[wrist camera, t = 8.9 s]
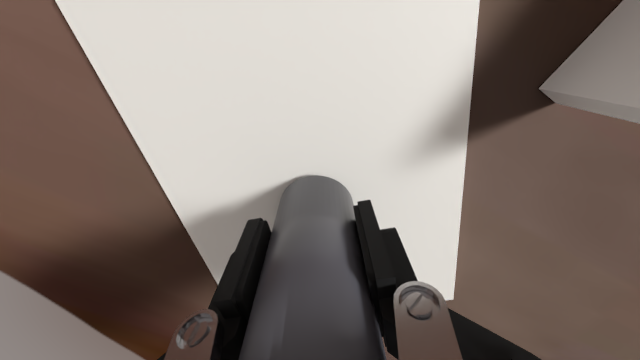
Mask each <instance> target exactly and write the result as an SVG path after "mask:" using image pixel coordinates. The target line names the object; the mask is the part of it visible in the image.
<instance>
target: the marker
mask: <svg viewBox="0 0 640 360" xmlns="http://www.w3.org/2000/svg"><path fill="white" fill-rule="evenodd" d="M353 206H354V204H353V200H352V197H351V194H350V193H349V191H348V190H347V189H346V187H345V186H344V185H342V184H341V183H340V182H338V181H336V180H335V179H332V178H329V177H326V176H319V175H313V176H307V177H303V178H300V179H298V180H296V181H294V182H293V183H291V184H290V185H289V186H288V187H287V188H286V189H285V190H284V192H283V194H282V196H281V198H280V202H279V206H278V210H277V214H276V218H275V221H274V225H273V229H272V233H271V237H270V241H269V244H268V248H267V252H266V256H265V260H264V264H263V267H262V271H261V275H260V279H259V283H258V287H257V290H256V294H255V298H254V302H253V306H252V310H251V314H250V317H249V321H248V325H247V329H246V333H245V337H244V340H243V344H242V348H241V352H240V356H239V360H386V356H385V351H384V346H383V342H382V337H381V332H380V327H379V323H378V318H377V313H376V309H375V306H374V304H373V302H372V300H371V295H370V290H369V285H368V280H367V275H366V270H365V265H364V260H363V256H362V251H361V246H360V241H359V236H358V231H357V226H356V221H355V215H354V209H353Z"/></svg>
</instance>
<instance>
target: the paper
mask: <svg viewBox="0 0 640 360" xmlns="http://www.w3.org/2000/svg"><path fill="white" fill-rule="evenodd" d="M55 1H56V3H57V5H58V6H59V8H60V10H61V12H62V13H63V15H64V17H65V19H66V20H67V22H68V24H69V26H70V27H71V29H72V31H73V33H74V34H75V36H76V38H77V40H78V41H79V43H80V45H81V47H82V48H83V50H84V52H85V54H86V55H87V57H88V59H89V61H90V62H91V64H92V66H93V68H94V69H95V71H96V73H97V75H98V76H99V78H100V80H101V82H102V83H103V85H104V87H105V89H106V90H107V92H108V94H109V96H110V97H111V99H112V101H113V103H114V104H115V106H116V108H117V110H118V111H119V113H120V115H121V117H122V118H123V120H124V122H125V124H126V125H127V127H128V129H129V131H130V132H131V134H132V136H133V138H134V139H135V141H136V143H137V145H138V146H139V148H140V150H141V152H142V153H143V155H144V157H145V158H146V160H147V162H148V164H149V165H150V167H151V169H152V171H153V172H154V174H155V176H156V178H157V179H158V181H159V183H160V185H161V186H162V188H163V190H164V192H165V193H166V195H167V197H168V199H169V200H170V202H171V204H172V206H173V207H174V209H175V211H176V213H177V214H178V216H179V218H180V220H181V221H182V223H183V225H184V227H185V228H186V230H187V232H188V234H189V235H190V237H191V239H192V241H193V242H194V244H195V246H196V248H197V249H198V251H199V253H200V255H201V256H202V258H203V260H204V262H205V263H206V265H207V267H208V269H209V270H210V272H211V274H212V276H213V277H214V279H215V281H216V283H217V284H219V282H220V279H221V277H222V275H223V272H224V270H225V268H226V265H227V263H228V261H229V258H230V256H231V254H232V253H234V252H235V250H236V247H237V245H238V242H239V240H240V237H241V235H242V233H243V230H244V228H245V225H246V223H247V221H248V220H250V219H256V218H262V219H263V221H264V220H266V221H267V222H268V225H269V227H270V230H271V233H272V229H273V225H274V221H275V218H276V214H277V210H278V206H279V202H280V198H281V196H282V194H283V192H284V190H285V189H286V188H287V187H288V186H289V185H290V184H291V183H293V182H294V181H296V180H298V179H300V178H303V177H307V176H313V175H319V176H326V177H329V178H332V179H335V180H336V181H338V182H340V183H341V184H342V185H344V186H345V187H346V189H347V190H348V191H349V193H350V194H351V197H352V200H353V204H354V205H358V203H357V202H358V201H364V200H371V203H372V206H373V210H374V213H375V216H376V219H377V222H378V225H379V228H380V229H387V228H393V227H395V228H396V230H397V232H398V234H399V237H400V239H401V242H402V244H403V247H404V249H405V251H406V254H407V256H408V259H409V261H410V263H411V266H412V268H413V271H414V273H415V275H416V278H417V280H418V281H419V282H424V283H427V284H430V285H431V286H433V287H434V288H436V289H437V290H438V291H439V292H440V293H441V294H442V295H443V297H444V299H445V300H452V299H453V297H454V286H455V275H456V263H457V252H458V240H459V229H460V218H461V206H462V195H463V184H464V172H465V161H466V149H467V138H468V127H469V115H470V104H471V92H472V81H473V70H474V58H475V47H476V36H477V24H478V13H479V1H480V0H55Z"/></svg>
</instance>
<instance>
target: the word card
mask: <svg viewBox="0 0 640 360" xmlns="http://www.w3.org/2000/svg"><path fill="white" fill-rule="evenodd" d="M539 89H540V90H541V91H542V92H543V93H544V94H545V95H547V96H548V97H549V98H550V99H551V100H553V101H554V102H555V103H557V104H561V105H565V106H569V107H574V108H578V109H582V110H586V111H590V112H594V113H598V114H602V115H606V116H611V117H615V118H619V119H623V120H627V121H631V122H635V123H639V124H640V0H623V1H622V2H621V3H620V4H619V5H618V6H617V7H616V8H615V9H614V10H613V12H612V13H611V14H610V15H609V16H608V17H607V18H606V19H605V20H604V21H603V22H602V23H601V24H600V25H599V26H598V27H597V28H596V29H595V30H594V31H593V32H592V33H591V34H590V35H589V36H588V38H587V39H586V40H585V41H584V42H583V43H582V44H581V45H580V46H579V47H578V48H577V49H576V50H575V51H574V52H573V53H572V54H571V55H570V56H569V57H568V58H567V59H566V60H565V61H564V62H563V64H562V65H561V66H560V67H559V68H558V69H557V70H556V71H555V72H554V73H553V74H552V75H551V76H550V77H549V78H548V79H547V80H546V81H545V82H544V83H543V84H542V85H541V86H540V87H539Z"/></svg>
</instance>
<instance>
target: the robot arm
mask: <svg viewBox="0 0 640 360" xmlns="http://www.w3.org/2000/svg"><path fill="white" fill-rule="evenodd" d="M357 203H358V205H354V206H353V209H354V215H355V221H356V226H357V231H358V236H359V241H360V246H361V251H362V256H363V260H364V265H365V270H366V275H367V280H368V285H369V290H370V295H371V300H372V302H373V304H374V306H375V309H376V313H377V318H378V323H379V327H380V332H381V337H383V338H384V342H385V347H387V351H388V352H389V353H390V354H391V355H393V356H394V357H395V358H397V359H398V360H541V359H539V358H538V357H536V356H535V355H533V354H532V353H530V352H528V351H526V350H524V349H523V348H521V347H519V346H517V345H515V344H513V343H511V342H510V341H508V340H506V339H504V338H502V337H500V336H499V335H497V334H495V333H493V332H491V331H489V330H487V329H486V328H484V327H482V326H480V325H478V324H476V323H475V322H473V321H471V320H469V319H467V318H465V317H463V316H462V315H460V314H458V313H456V312H454V311H452V310H451V309H449V308H447V304H446V302H445V299H444V297H443V295H442V294H441V293H440V292H439V291H438V290H437V289H436V288H434V287H433V286H431V285H430V284H427V283H424V282H419V281H418V280H417V278H416V275H415V273H414V271H413V268H412V266H411V263H410V261H409V259H408V256H407V254H406V251H405V249H404V247H403V244H402V242H401V239H400V237H399V234H398V232H397V230H396V228H395V227H393V228H387V229H380V228H379V225H378V222H377V219H376V216H375V213H374V210H373V206H372V203H371V200H364V201H358V202H357ZM270 237H271V230H270V227H269V225H268V222H267V221H266V220H264V221H263V219H262V218H256V219H250V220H248V221H247V223H246V225H245V228H244V230H243V233H242V235H241V237H240V240H239V242H238V245H237V247H236V250H235V252H234V253H232V254H231V256H230V258H229V261H228V263H227V265H226V268H225V270H224V272H223V275H222V277H221V279H220V282H219V284H218V286H217V289H216V291H215V293H214V296H213V298H212V300H211V303H210V305H209V307H208V309H202V310H199V311H196V312H194V313H192V314H191V315H189V316H188V317H187V318H186V319H184V320H183V321H182V322H181V323H180V325H179V326H178V327H177V329H176V330H175V332H174V334H173V336H172V339H171V341H170V344H169V347H168V350H167V352H166V353H165V354H164V355H162V356H161V357H160V358H159V359H157V360H239V356H240V352H241V348H242V344H243V340H244V337H245V333H246V329H247V325H248V321H249V317H250V314H251V310H252V306H253V302H254V298H255V294H256V290H257V287H258V283H259V279H260V275H261V271H262V267H263V264H264V260H265V256H266V252H267V248H268V244H269V241H270Z"/></svg>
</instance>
